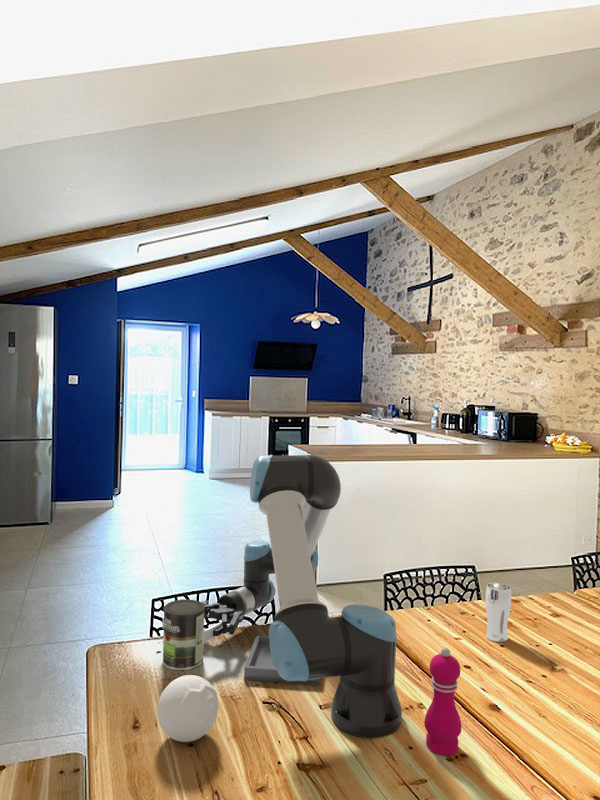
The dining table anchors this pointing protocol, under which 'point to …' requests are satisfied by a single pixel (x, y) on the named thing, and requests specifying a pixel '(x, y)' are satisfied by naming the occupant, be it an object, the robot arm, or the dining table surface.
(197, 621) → the coffee can
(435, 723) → the pepper mill
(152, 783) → the dining table surface
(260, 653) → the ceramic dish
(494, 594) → the beer glass
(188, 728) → the decorative ball
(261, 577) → the robot arm
